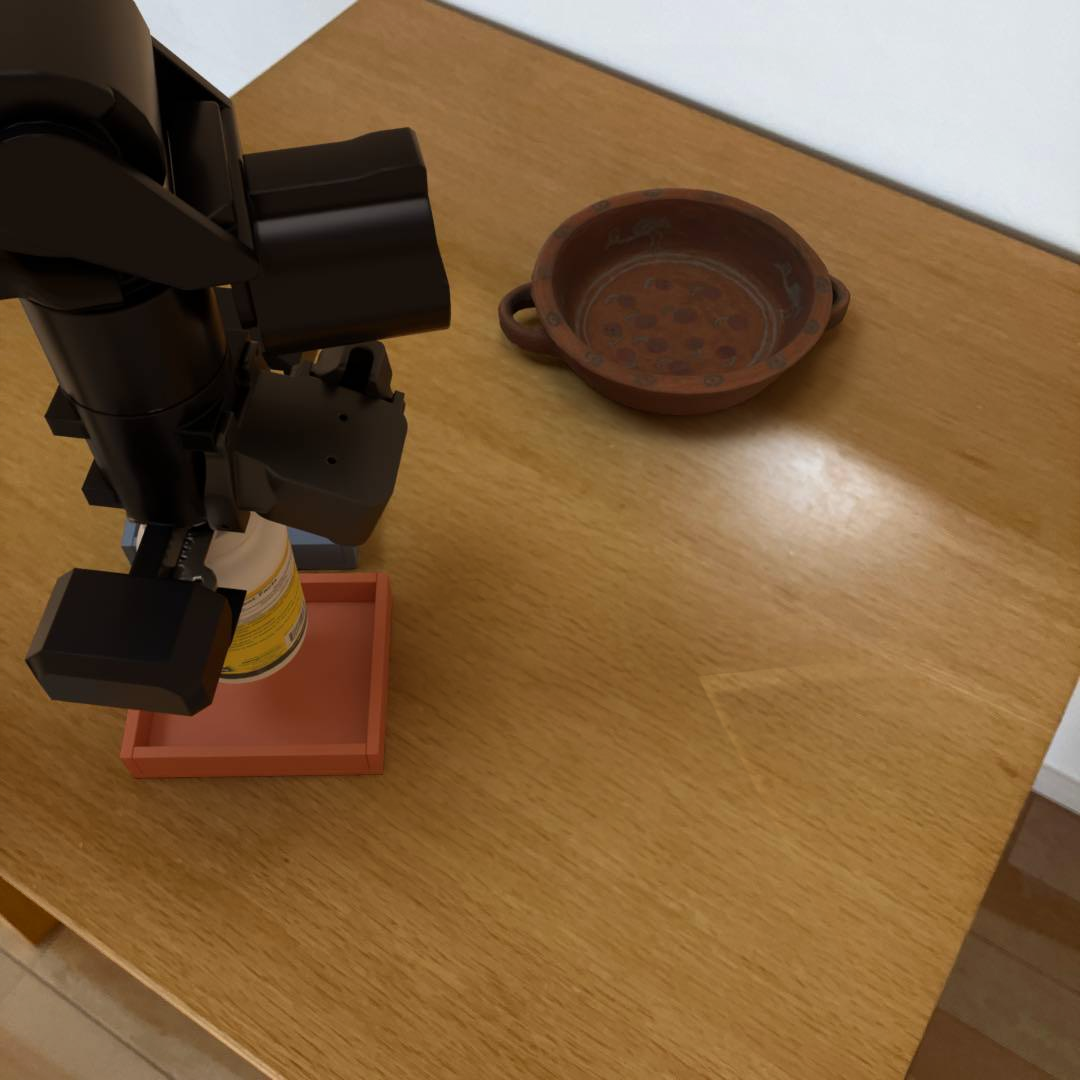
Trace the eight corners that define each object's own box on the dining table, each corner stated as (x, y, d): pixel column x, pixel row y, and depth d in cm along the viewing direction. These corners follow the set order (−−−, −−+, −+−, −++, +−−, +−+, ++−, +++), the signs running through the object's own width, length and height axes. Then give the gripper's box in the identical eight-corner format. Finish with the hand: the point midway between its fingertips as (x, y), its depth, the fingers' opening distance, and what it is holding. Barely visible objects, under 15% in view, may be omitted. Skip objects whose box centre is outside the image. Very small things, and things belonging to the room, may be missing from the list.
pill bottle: (164, 597, 56) (102, 457, 47) (290, 560, 57) (253, 416, 48) (193, 707, 53) (132, 579, 44) (325, 664, 54) (293, 532, 45)
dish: (878, 430, 70) (901, 375, 66) (514, 460, 68) (514, 405, 64) (807, 233, 79) (823, 173, 75) (486, 254, 78) (485, 195, 73)
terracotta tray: (133, 778, 57) (118, 758, 55) (165, 599, 62) (153, 574, 60) (383, 774, 57) (378, 754, 55) (392, 596, 63) (388, 572, 61)
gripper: (315, 616, 34) (367, 811, 47) (424, 193, 44) (442, 448, 57) (-58, 574, 34) (96, 778, 47) (137, 164, 44) (219, 424, 57)
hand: (231, 591), depth 52 cm, fingers closed on pill bottle, 6 cm apart
